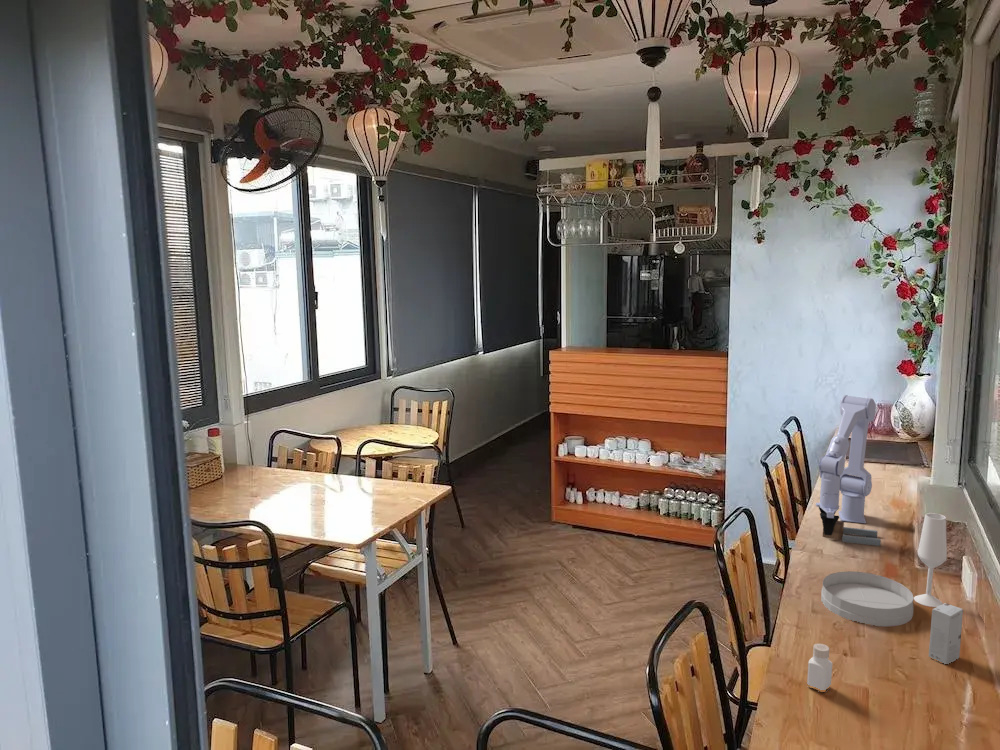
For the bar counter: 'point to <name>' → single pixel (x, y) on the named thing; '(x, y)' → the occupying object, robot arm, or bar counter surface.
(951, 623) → the skincare box
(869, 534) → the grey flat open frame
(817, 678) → the pepper shaker
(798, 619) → the bar counter surface
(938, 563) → the champagne flute
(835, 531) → the walnut block
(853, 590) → the dish
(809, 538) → the bar counter surface
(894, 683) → the bar counter surface
